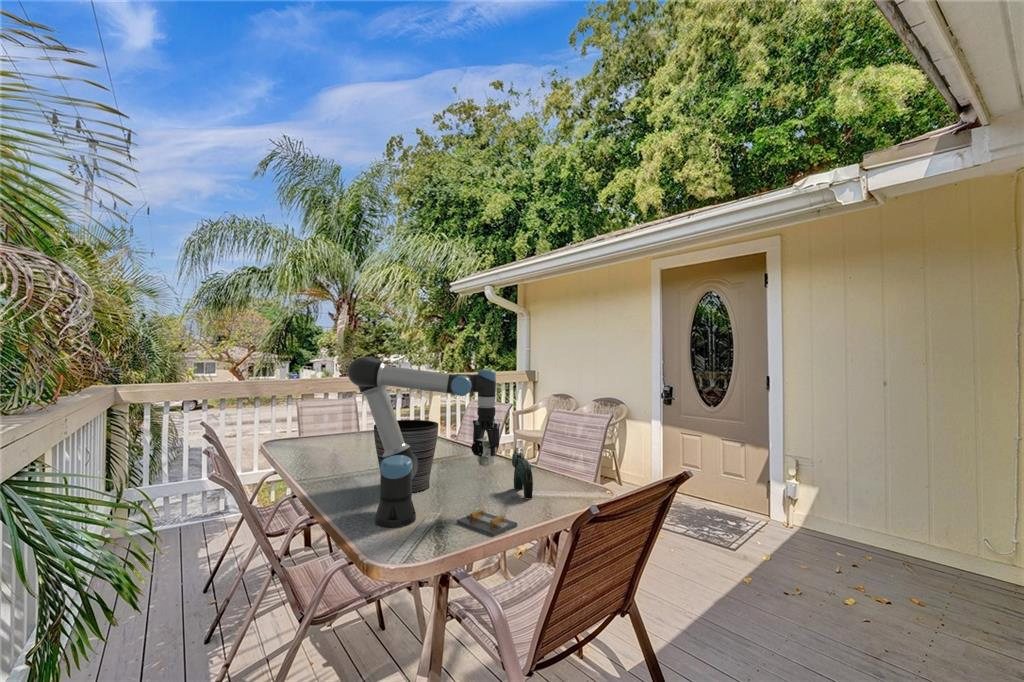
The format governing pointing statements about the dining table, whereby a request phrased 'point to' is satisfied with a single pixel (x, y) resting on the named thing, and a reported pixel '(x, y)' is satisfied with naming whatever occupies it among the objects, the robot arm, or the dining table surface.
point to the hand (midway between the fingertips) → (485, 462)
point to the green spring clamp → (522, 474)
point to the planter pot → (415, 448)
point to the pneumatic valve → (482, 450)
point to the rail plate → (486, 522)
